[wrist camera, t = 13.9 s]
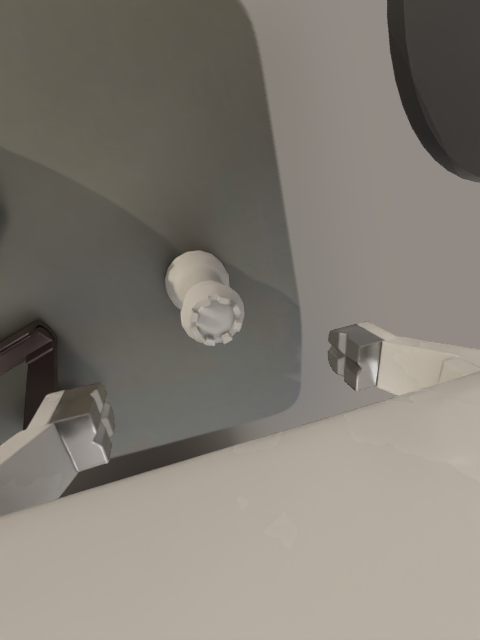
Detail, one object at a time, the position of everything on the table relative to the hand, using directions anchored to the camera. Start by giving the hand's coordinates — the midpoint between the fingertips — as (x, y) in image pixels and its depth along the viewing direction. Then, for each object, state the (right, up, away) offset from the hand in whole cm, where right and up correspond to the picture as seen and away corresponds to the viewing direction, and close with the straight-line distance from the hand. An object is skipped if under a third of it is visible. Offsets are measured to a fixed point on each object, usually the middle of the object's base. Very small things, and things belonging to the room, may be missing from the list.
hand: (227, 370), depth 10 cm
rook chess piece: (-3, +5, +11) cm, 12 cm away
